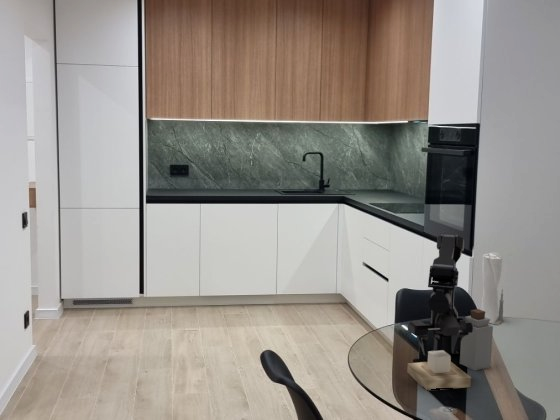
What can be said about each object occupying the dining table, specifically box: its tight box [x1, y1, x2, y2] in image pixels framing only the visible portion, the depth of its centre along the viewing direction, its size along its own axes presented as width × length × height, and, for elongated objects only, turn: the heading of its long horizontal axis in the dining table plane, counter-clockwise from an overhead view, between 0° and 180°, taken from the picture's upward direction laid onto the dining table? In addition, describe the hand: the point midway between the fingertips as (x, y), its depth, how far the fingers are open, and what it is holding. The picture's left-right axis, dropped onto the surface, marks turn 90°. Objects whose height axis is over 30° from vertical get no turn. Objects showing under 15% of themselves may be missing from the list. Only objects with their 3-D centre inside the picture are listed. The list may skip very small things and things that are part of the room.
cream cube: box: [427, 350, 452, 373], centre depth 205 cm, size 5×5×5 cm
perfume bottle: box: [459, 308, 494, 371], centre depth 217 cm, size 7×7×18 cm
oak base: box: [406, 361, 472, 391], centre depth 205 cm, size 14×14×3 cm
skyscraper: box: [480, 252, 504, 326], centre depth 261 cm, size 8×8×28 cm
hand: (439, 354), depth 204 cm, fingers open, 9 cm apart
